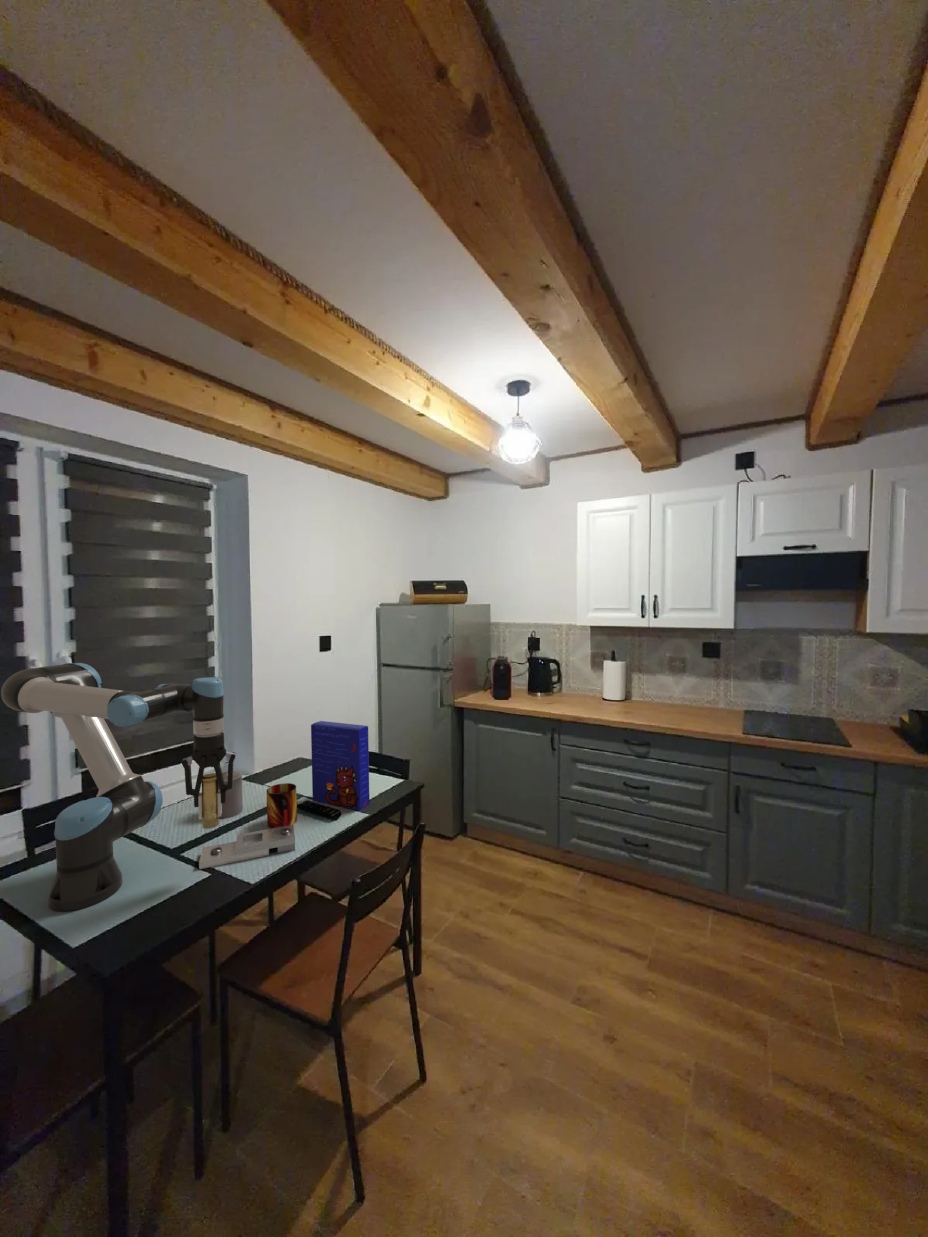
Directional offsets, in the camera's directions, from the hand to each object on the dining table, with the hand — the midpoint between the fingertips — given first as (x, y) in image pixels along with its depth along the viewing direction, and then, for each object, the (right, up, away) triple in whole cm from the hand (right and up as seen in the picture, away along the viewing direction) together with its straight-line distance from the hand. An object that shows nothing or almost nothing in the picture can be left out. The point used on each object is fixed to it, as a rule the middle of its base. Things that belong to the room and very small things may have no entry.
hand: (210, 815), depth 131 cm
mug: (+10, -16, +30) cm, 36 cm away
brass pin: (0, -3, 0) cm, 3 cm away
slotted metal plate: (+6, -16, +13) cm, 22 cm away
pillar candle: (-15, -16, +40) cm, 45 cm away
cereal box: (+24, -15, +47) cm, 55 cm away
